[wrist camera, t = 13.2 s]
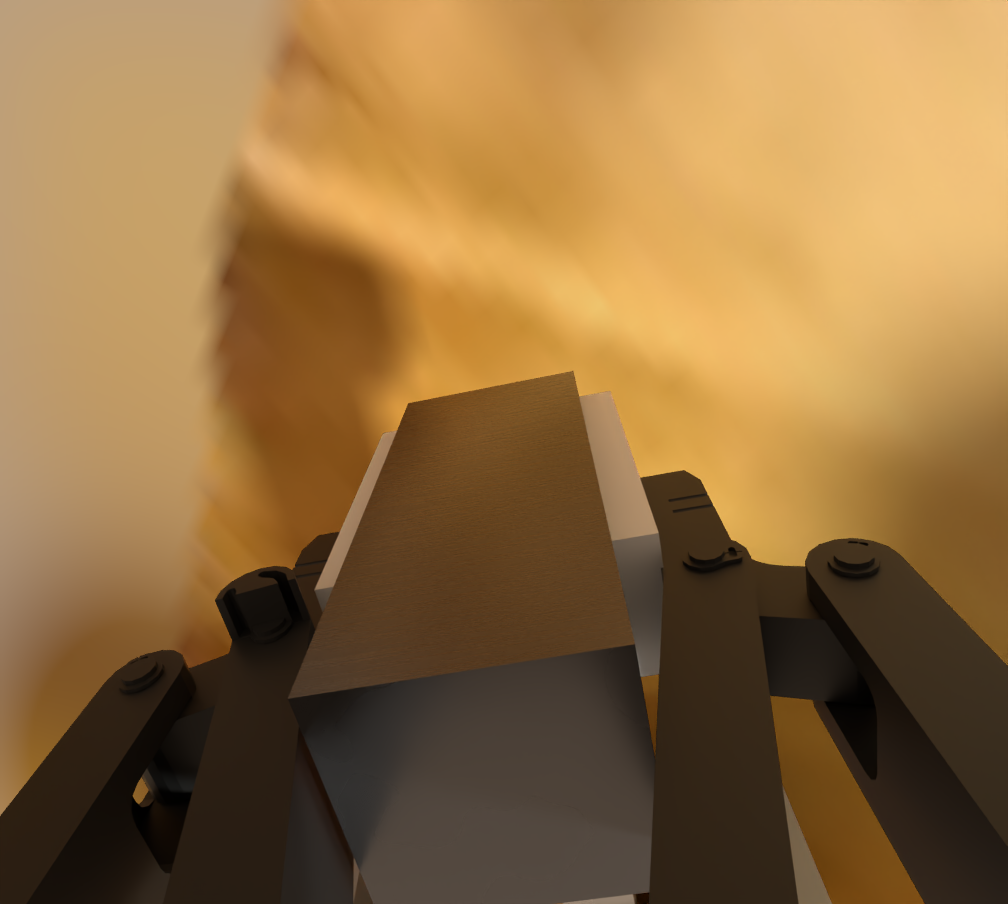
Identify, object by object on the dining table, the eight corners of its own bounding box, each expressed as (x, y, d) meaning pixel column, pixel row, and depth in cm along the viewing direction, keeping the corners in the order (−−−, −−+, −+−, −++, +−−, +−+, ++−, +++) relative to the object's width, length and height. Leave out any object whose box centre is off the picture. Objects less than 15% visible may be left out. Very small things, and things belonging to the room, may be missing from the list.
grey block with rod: (573, 371, 17) (635, 644, 8) (662, 865, 24) (752, 1325, 15) (270, 430, 18) (10, 742, 9) (438, 893, 25) (389, 1348, 15)
